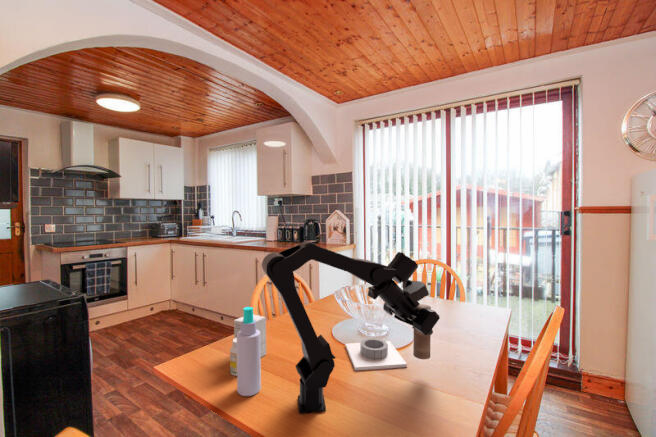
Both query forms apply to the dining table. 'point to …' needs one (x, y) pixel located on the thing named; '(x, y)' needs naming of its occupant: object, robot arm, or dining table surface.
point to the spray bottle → (248, 356)
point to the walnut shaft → (421, 341)
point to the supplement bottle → (233, 358)
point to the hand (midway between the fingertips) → (426, 330)
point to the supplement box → (259, 326)
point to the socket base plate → (374, 355)
